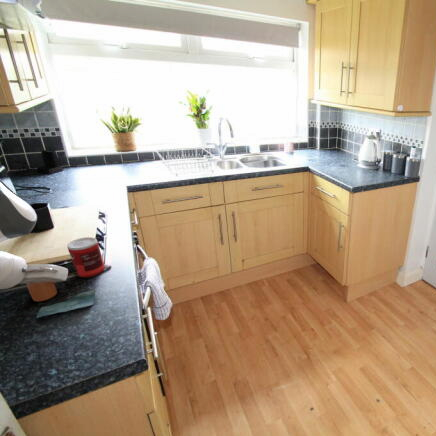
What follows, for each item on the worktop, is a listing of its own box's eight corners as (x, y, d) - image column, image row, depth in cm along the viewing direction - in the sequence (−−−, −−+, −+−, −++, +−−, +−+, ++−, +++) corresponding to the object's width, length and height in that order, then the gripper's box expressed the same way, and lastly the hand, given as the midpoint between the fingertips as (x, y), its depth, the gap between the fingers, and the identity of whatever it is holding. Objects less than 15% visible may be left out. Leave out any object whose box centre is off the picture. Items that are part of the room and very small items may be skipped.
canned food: (85, 265, 110) (76, 237, 105) (110, 264, 110) (101, 236, 106) (71, 278, 103) (60, 248, 98) (97, 277, 103) (88, 248, 99)
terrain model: (36, 324, 84) (34, 318, 83) (42, 308, 90) (40, 302, 89) (95, 308, 90) (94, 302, 89) (96, 294, 96) (95, 289, 95)
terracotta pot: (27, 302, 92) (16, 276, 88) (40, 290, 97) (30, 265, 93) (49, 300, 92) (39, 274, 89) (61, 289, 98) (51, 264, 94)
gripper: (51, 256, 83) (82, 267, 96) (-41, 261, 80) (4, 272, 93) (46, 280, 81) (78, 288, 94) (-49, 286, 78) (-2, 294, 90)
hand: (40, 280), depth 93 cm, fingers open, 6 cm apart
